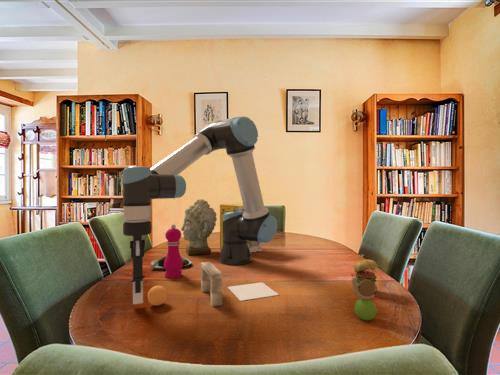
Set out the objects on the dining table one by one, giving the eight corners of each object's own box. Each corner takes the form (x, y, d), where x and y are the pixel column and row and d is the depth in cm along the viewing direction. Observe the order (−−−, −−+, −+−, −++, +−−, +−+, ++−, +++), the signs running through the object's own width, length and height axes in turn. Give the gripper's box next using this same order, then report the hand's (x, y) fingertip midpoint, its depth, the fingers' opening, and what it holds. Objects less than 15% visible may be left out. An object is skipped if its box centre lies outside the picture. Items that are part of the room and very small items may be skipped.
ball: (166, 300, 89) (166, 282, 89) (168, 306, 84) (168, 287, 84) (147, 302, 87) (147, 284, 87) (148, 309, 82) (148, 290, 82)
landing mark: (262, 282, 106) (262, 282, 106) (278, 295, 93) (278, 294, 93) (227, 287, 101) (227, 286, 101) (240, 301, 89) (240, 300, 89)
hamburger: (366, 296, 92) (366, 258, 92) (349, 289, 99) (349, 253, 99) (383, 292, 96) (383, 255, 96) (365, 286, 102) (365, 251, 102)
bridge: (209, 289, 99) (209, 261, 99) (222, 305, 86) (222, 273, 86) (201, 290, 98) (201, 262, 98) (212, 306, 85) (212, 274, 85)
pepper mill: (177, 279, 110) (177, 225, 110) (160, 278, 111) (160, 225, 111) (185, 273, 117) (185, 223, 117) (169, 272, 118) (169, 223, 118)
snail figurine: (347, 315, 79) (347, 270, 79) (370, 314, 79) (370, 270, 79) (356, 324, 73) (356, 276, 73) (380, 323, 74) (380, 276, 74)
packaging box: (238, 255, 148) (238, 205, 148) (219, 250, 160) (219, 204, 160) (261, 250, 159) (261, 204, 159) (242, 246, 171) (242, 203, 171)
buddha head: (179, 250, 160) (179, 199, 160) (213, 248, 166) (213, 198, 166) (182, 257, 144) (182, 200, 144) (219, 254, 150) (219, 199, 150)
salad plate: (145, 262, 136) (145, 252, 136) (184, 258, 143) (184, 249, 143) (151, 273, 118) (151, 262, 118) (195, 268, 126) (195, 257, 126)
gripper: (123, 218, 89) (124, 296, 89) (122, 224, 76) (122, 314, 77) (150, 217, 91) (150, 293, 92) (152, 222, 79) (152, 309, 79)
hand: (137, 302), depth 84 cm, fingers closed
